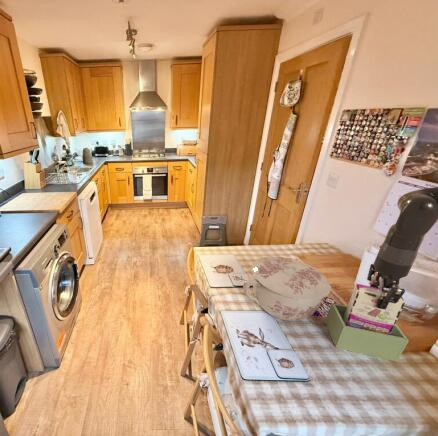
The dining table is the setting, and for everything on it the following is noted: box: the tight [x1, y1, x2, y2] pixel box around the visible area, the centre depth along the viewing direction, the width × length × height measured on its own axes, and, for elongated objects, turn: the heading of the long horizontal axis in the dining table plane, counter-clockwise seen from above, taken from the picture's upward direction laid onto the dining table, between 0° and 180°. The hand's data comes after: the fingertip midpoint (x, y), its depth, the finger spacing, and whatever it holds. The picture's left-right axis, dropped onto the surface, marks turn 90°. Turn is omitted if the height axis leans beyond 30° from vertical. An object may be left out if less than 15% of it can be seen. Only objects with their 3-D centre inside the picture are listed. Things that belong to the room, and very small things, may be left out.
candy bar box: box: [343, 282, 406, 335], centre depth 77 cm, size 11×5×16 cm, turn 59°
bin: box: [324, 302, 410, 363], centre depth 81 cm, size 17×12×10 cm
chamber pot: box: [242, 256, 332, 322], centre depth 94 cm, size 28×28×21 cm
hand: (375, 301), depth 75 cm, fingers closed on candy bar box, 5 cm apart
